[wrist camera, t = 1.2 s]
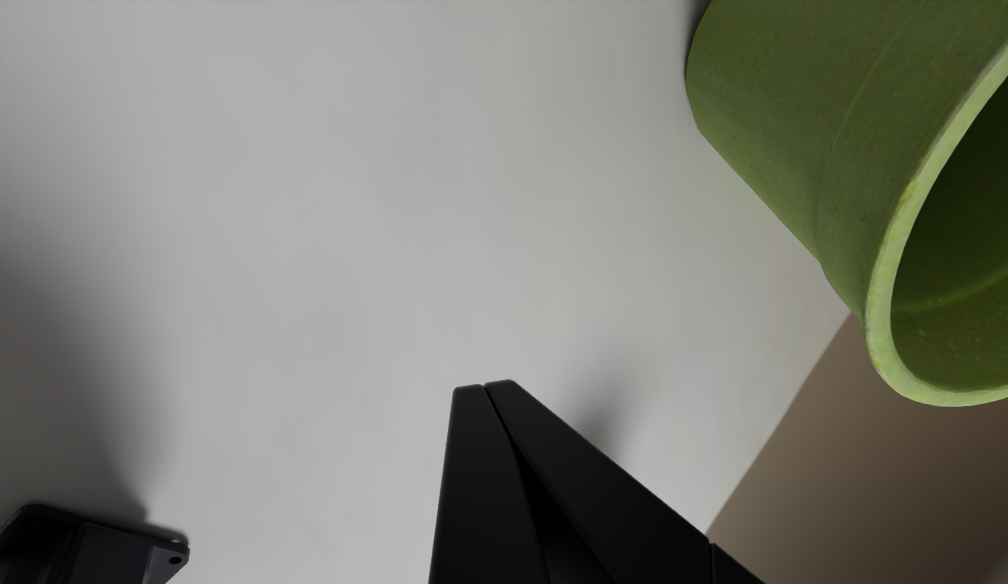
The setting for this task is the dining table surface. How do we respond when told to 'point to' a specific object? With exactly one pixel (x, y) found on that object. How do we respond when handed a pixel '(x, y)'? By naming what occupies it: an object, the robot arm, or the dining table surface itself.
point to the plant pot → (879, 166)
